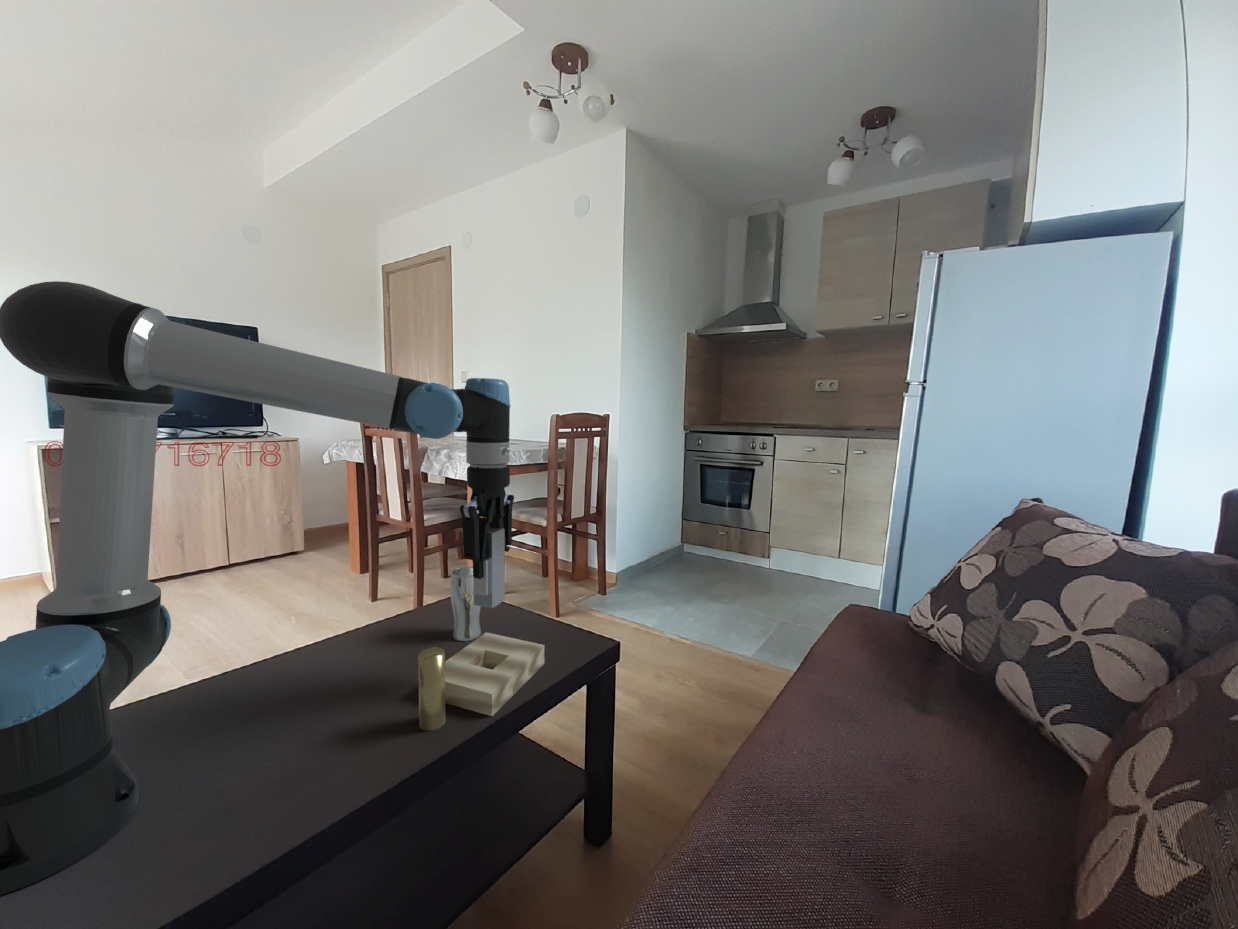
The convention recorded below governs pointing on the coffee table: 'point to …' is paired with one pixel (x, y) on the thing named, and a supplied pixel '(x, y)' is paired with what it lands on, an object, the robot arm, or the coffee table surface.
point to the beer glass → (464, 605)
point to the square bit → (494, 569)
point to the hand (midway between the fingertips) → (489, 589)
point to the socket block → (490, 672)
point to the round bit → (431, 688)
